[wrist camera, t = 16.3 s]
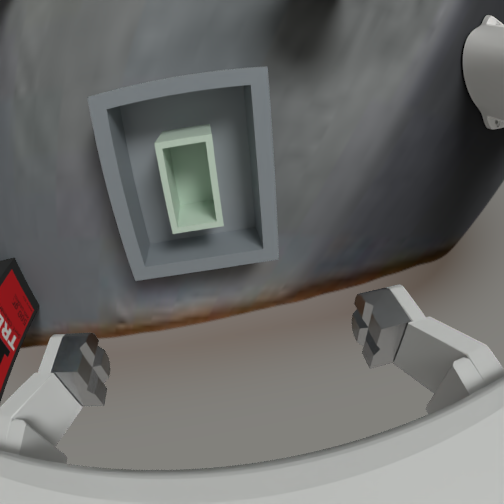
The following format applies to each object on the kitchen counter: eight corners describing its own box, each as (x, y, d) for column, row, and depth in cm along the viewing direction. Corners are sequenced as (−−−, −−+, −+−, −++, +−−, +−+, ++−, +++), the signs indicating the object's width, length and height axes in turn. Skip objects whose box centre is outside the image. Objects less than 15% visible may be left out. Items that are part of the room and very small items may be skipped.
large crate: (256, 67, 29) (267, 66, 24) (268, 233, 40) (278, 259, 35) (105, 92, 28) (87, 97, 23) (142, 252, 38) (135, 281, 33)
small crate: (209, 123, 31) (211, 133, 26) (219, 201, 36) (223, 226, 30) (162, 131, 30) (154, 143, 25) (176, 208, 35) (172, 234, 30)
